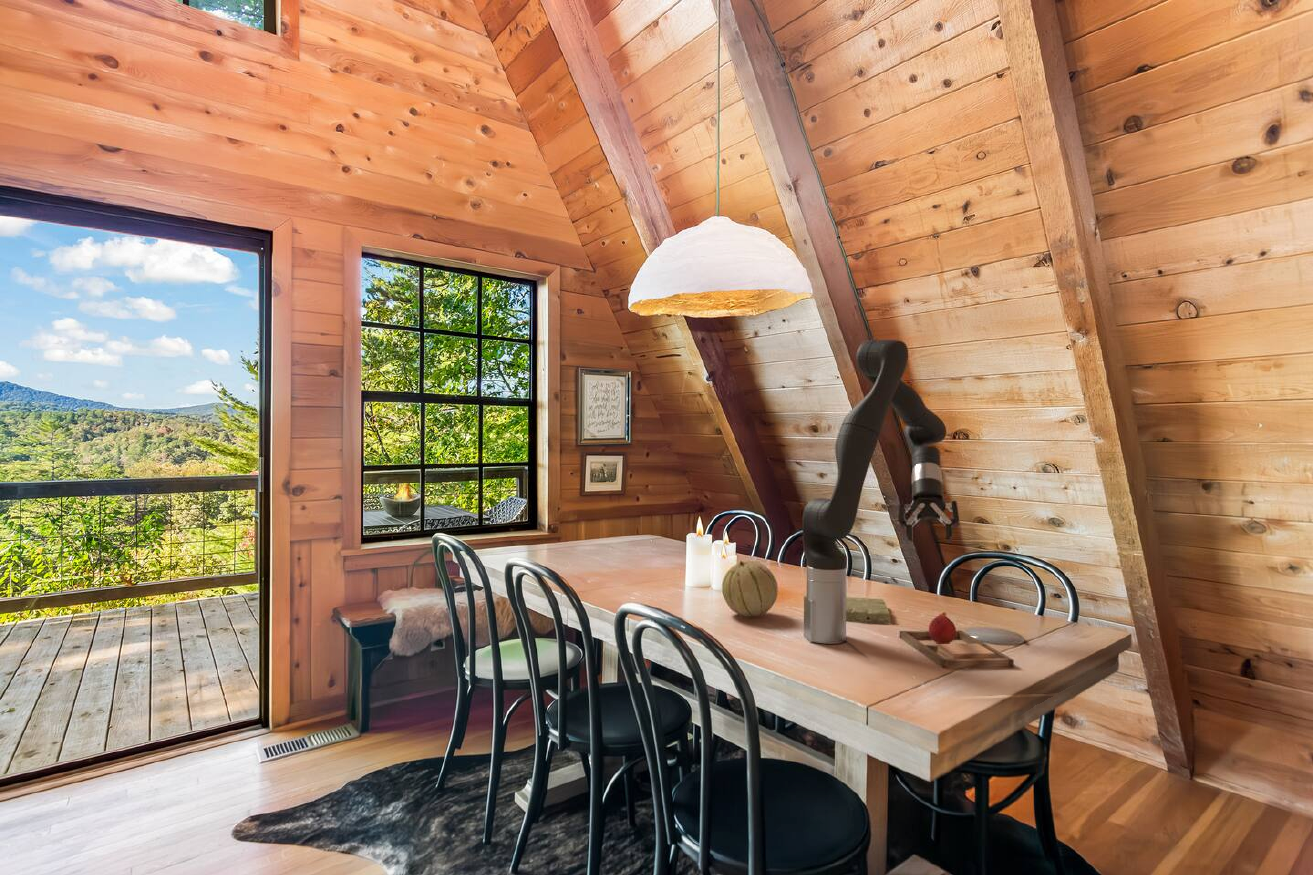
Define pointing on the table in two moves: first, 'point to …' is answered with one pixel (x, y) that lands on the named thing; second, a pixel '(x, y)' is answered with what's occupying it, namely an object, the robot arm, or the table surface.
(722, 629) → the table surface
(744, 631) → the table surface
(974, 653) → the offcut top
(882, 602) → the green flat block
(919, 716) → the table surface
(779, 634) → the table surface
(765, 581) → the cantaloupe
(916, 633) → the brown flat frame
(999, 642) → the plate
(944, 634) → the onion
